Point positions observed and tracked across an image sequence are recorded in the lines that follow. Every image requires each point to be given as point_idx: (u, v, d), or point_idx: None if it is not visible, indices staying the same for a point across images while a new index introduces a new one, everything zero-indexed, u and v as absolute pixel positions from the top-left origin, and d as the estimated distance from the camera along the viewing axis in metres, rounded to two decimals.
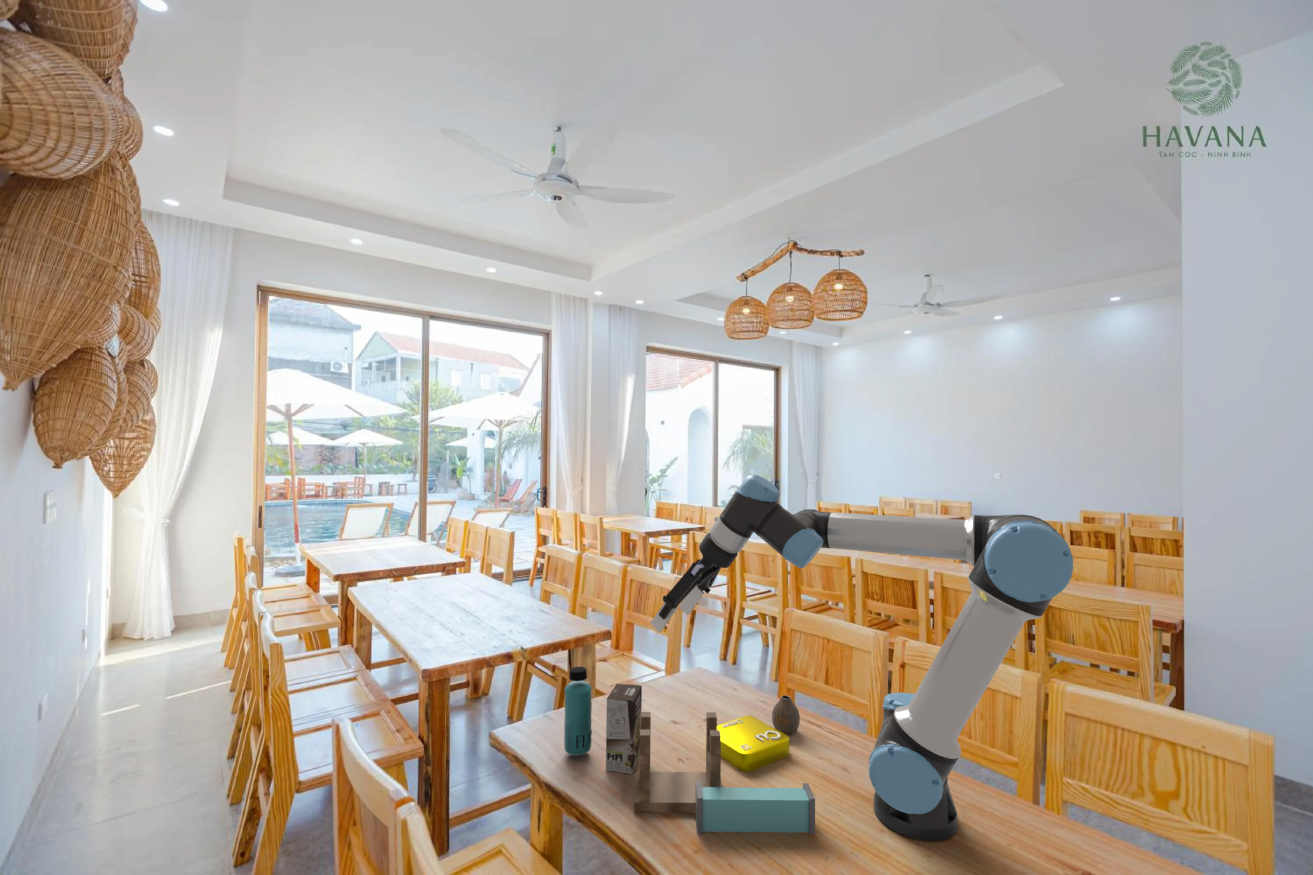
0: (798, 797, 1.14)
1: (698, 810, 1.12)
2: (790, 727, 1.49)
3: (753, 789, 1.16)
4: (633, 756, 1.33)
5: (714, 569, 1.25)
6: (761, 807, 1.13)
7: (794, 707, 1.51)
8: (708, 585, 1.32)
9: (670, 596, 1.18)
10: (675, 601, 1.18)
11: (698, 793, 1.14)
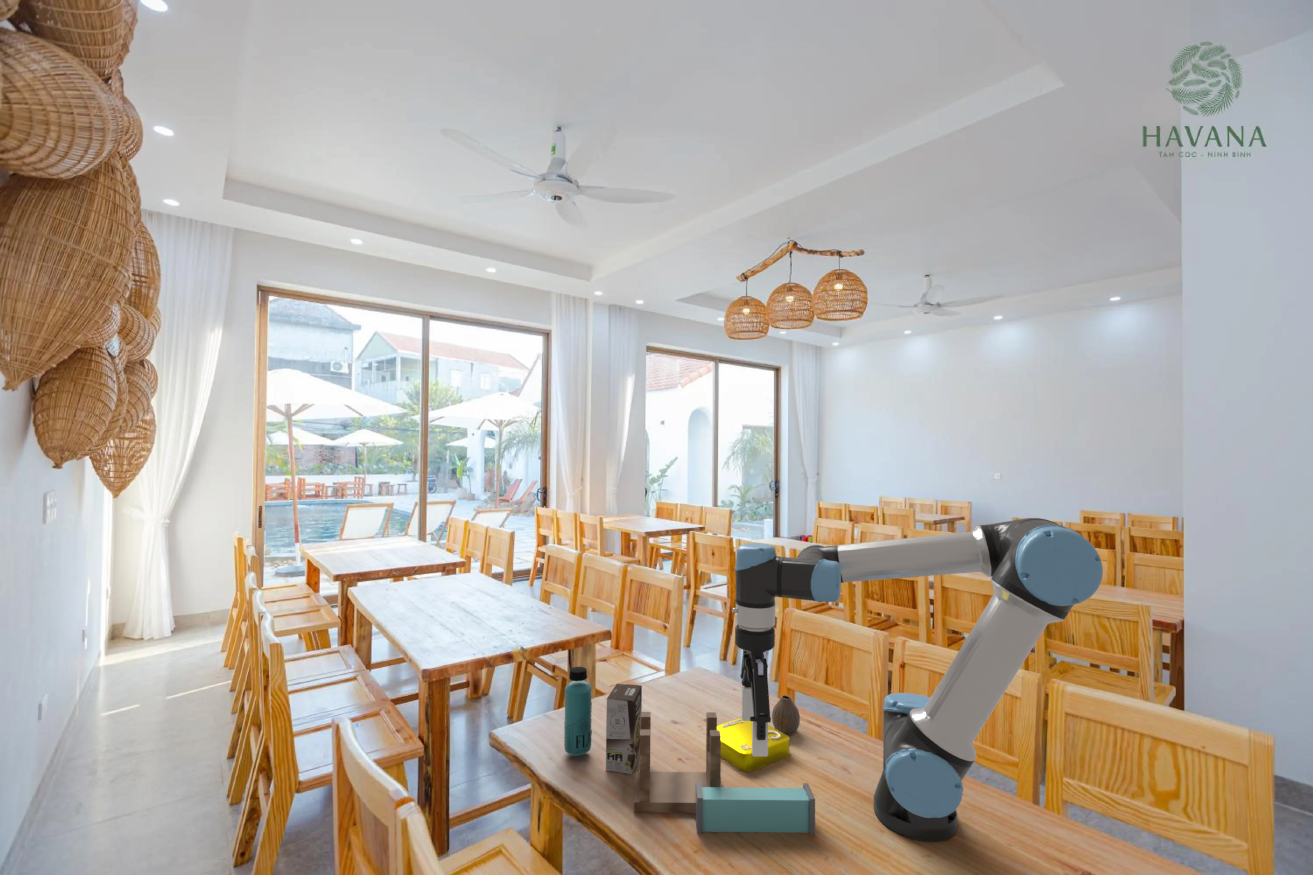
0: (798, 797, 1.14)
1: (698, 810, 1.12)
2: (790, 727, 1.49)
3: (753, 789, 1.16)
4: (633, 756, 1.33)
5: None
6: (761, 807, 1.13)
7: (794, 707, 1.51)
8: None
9: (760, 712, 1.06)
10: (768, 712, 1.06)
11: (698, 793, 1.14)
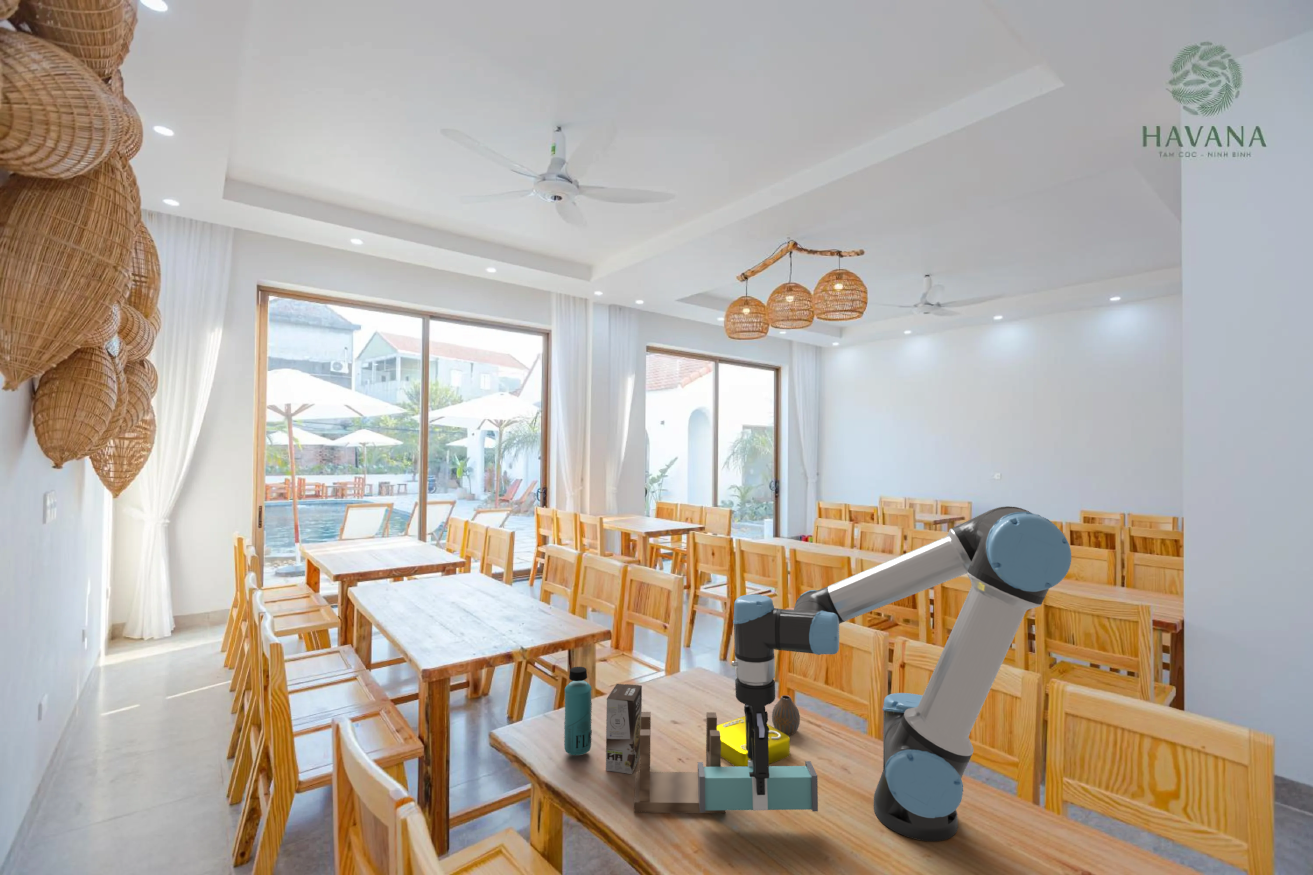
0: (801, 774, 1.14)
1: (700, 789, 1.12)
2: (790, 727, 1.49)
3: None
4: (633, 756, 1.33)
5: None
6: None
7: (794, 707, 1.51)
8: None
9: (759, 771, 1.09)
10: (767, 771, 1.09)
11: (701, 772, 1.14)
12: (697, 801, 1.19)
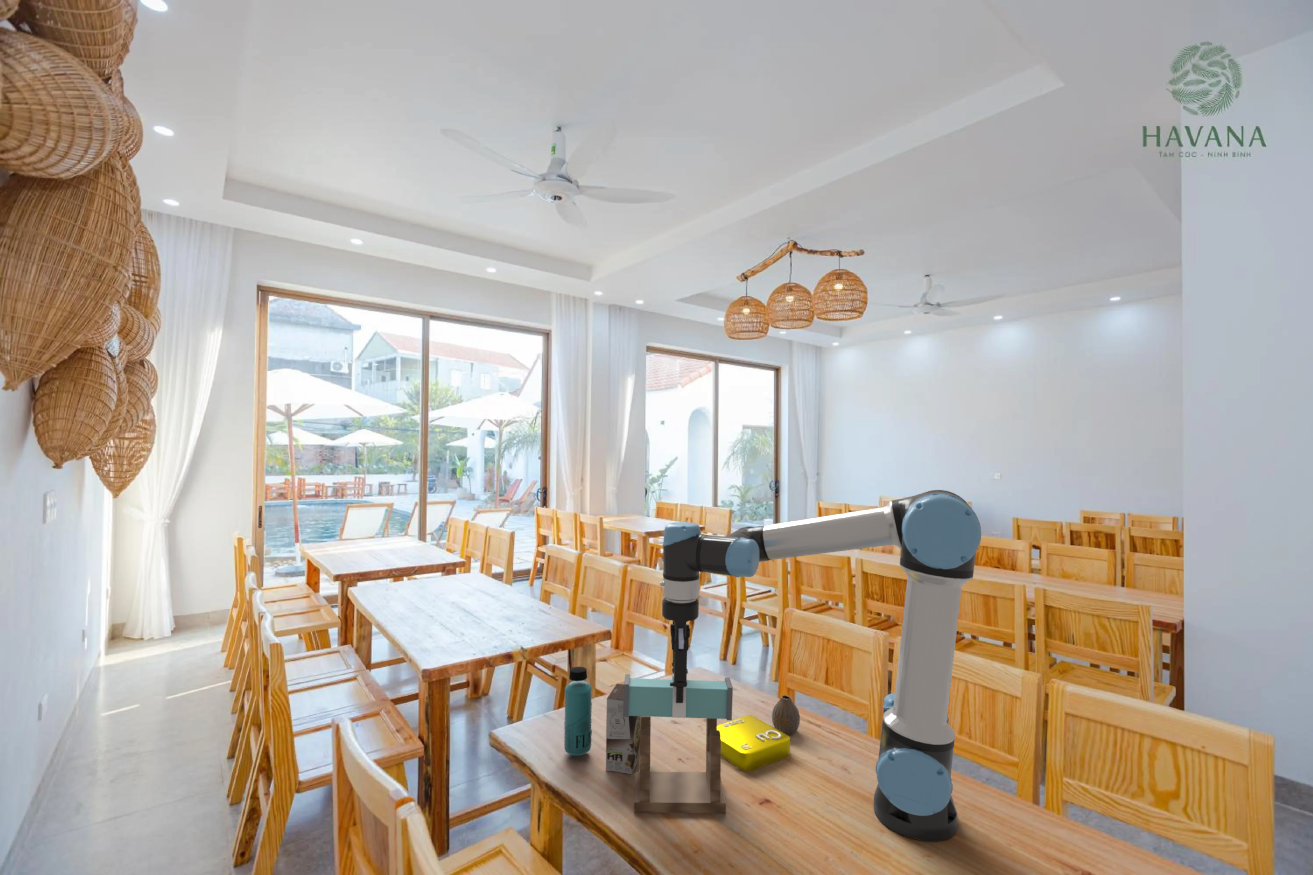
0: (718, 687, 1.23)
1: (624, 695, 1.22)
2: (790, 727, 1.49)
3: None
4: (633, 756, 1.33)
5: (687, 625, 1.25)
6: None
7: (794, 707, 1.51)
8: None
9: (678, 679, 1.18)
10: (685, 680, 1.18)
11: (626, 681, 1.23)
12: (697, 801, 1.19)
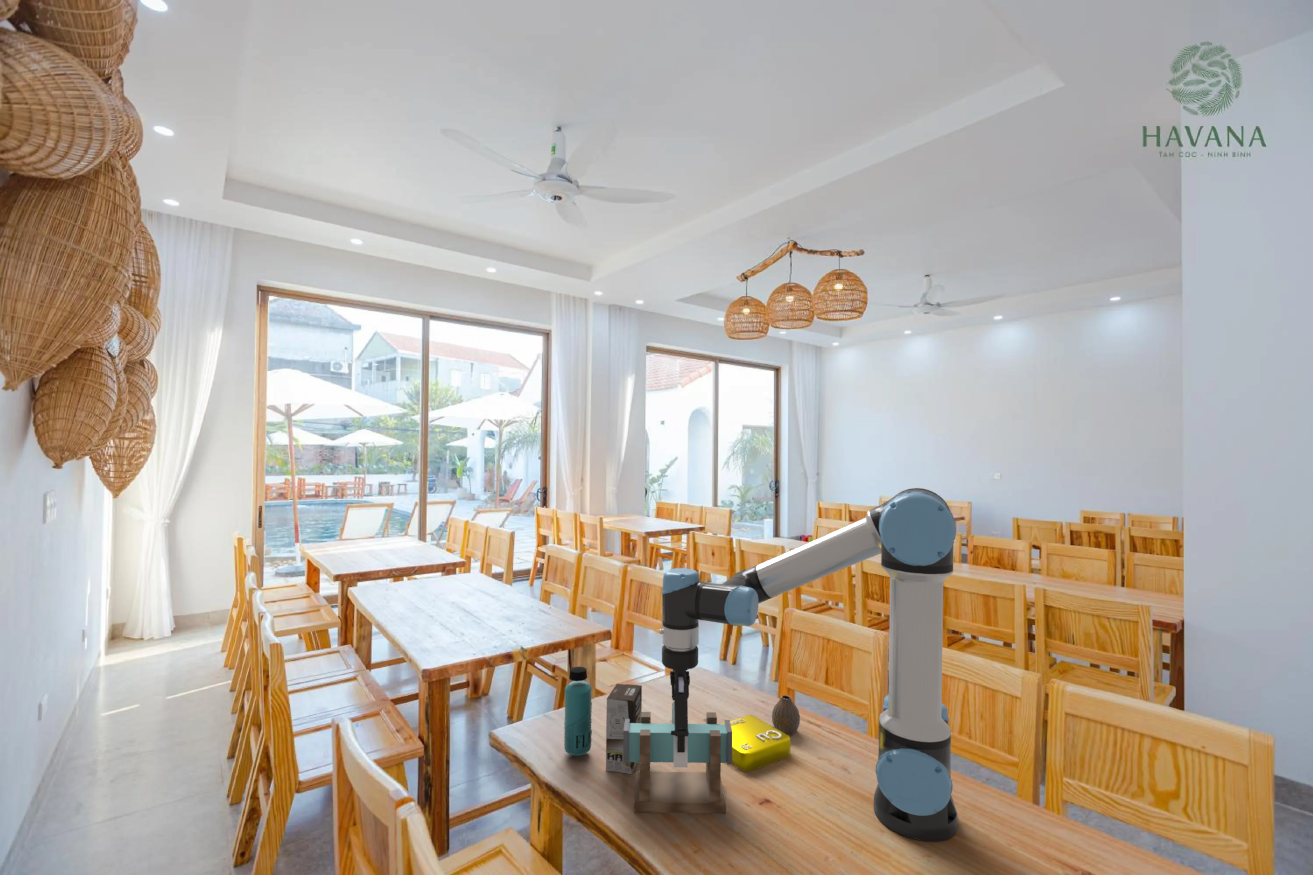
0: None
1: (624, 742, 1.22)
2: (790, 727, 1.49)
3: None
4: None
5: (687, 674, 1.25)
6: None
7: (794, 707, 1.51)
8: None
9: (679, 726, 1.15)
10: (686, 727, 1.14)
11: (625, 727, 1.23)
12: (697, 801, 1.19)
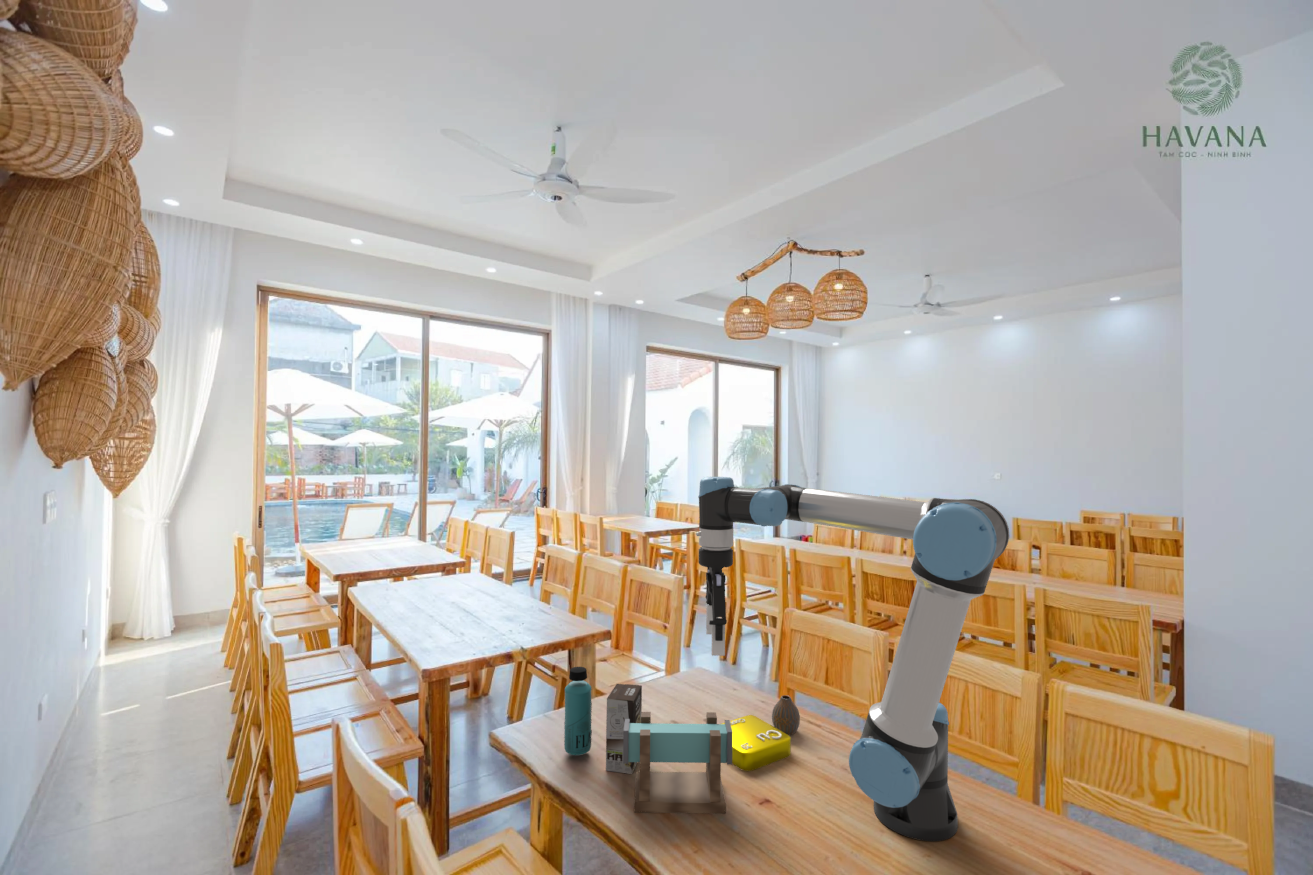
0: None
1: (624, 742, 1.22)
2: (790, 727, 1.49)
3: (677, 725, 1.25)
4: None
5: (722, 574, 1.33)
6: (683, 739, 1.22)
7: (794, 707, 1.51)
8: None
9: (717, 615, 1.23)
10: (724, 615, 1.23)
11: (625, 727, 1.23)
12: (697, 801, 1.19)
